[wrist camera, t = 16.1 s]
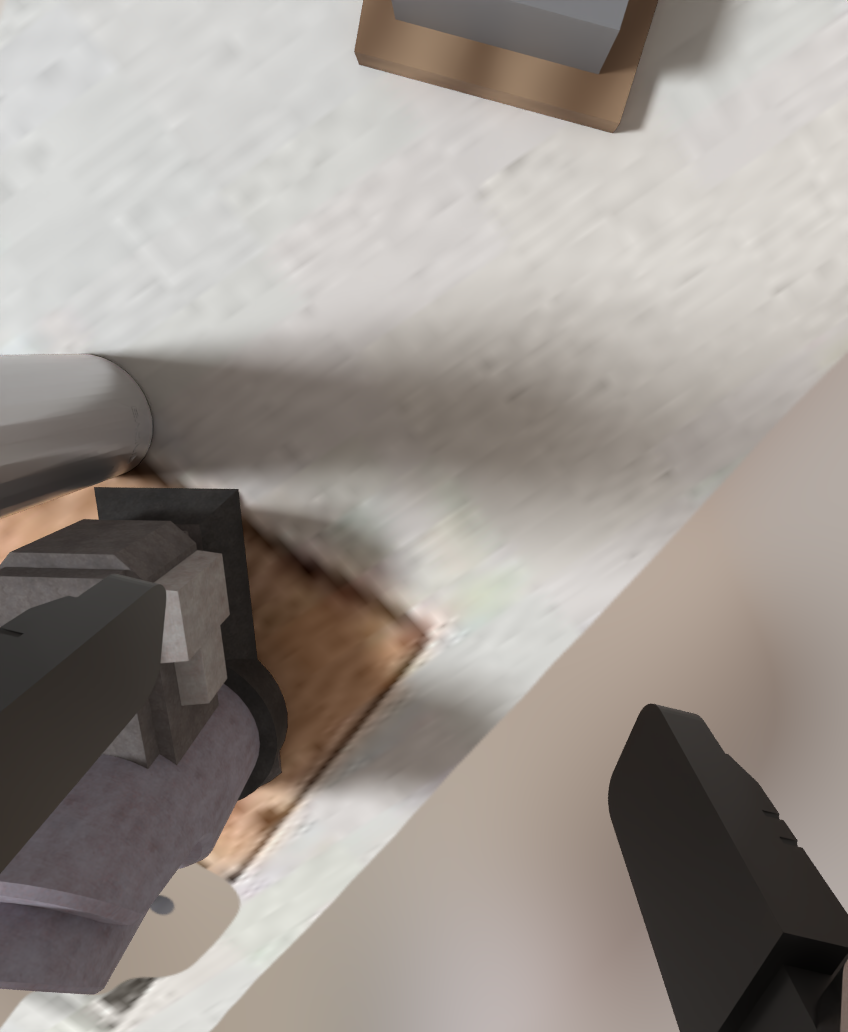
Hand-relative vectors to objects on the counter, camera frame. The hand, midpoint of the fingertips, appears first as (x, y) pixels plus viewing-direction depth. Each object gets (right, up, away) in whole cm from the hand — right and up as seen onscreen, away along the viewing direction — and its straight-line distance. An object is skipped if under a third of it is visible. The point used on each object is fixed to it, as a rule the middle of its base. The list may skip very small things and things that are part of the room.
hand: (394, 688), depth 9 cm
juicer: (-20, -9, +38) cm, 44 cm away
